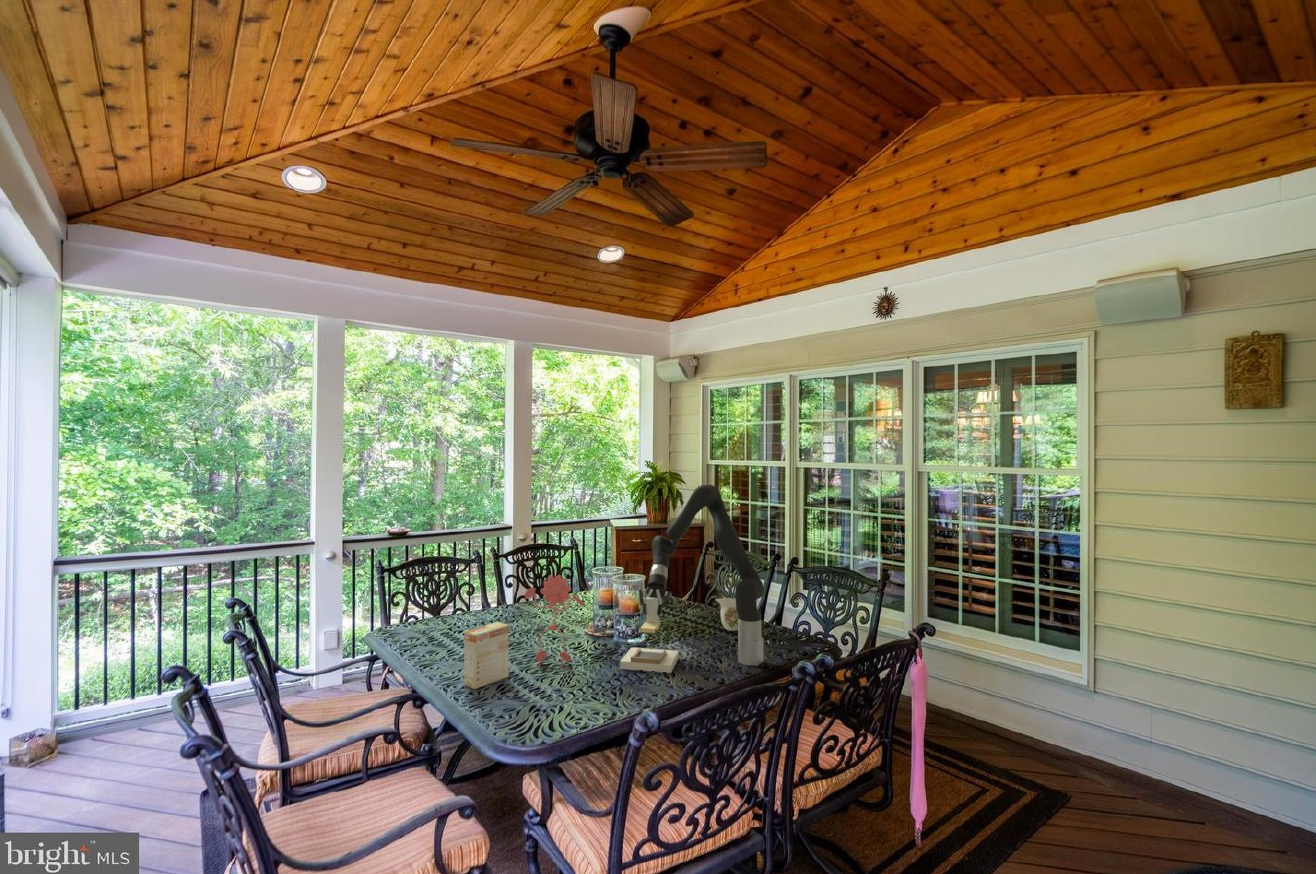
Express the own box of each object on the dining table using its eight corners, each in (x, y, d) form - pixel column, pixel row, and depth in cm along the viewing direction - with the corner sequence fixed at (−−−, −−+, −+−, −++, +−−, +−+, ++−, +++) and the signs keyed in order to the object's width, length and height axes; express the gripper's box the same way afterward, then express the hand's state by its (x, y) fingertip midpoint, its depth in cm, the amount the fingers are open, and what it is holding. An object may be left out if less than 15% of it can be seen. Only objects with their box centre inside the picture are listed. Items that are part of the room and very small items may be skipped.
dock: (678, 658, 238) (678, 646, 238) (670, 673, 222) (670, 660, 222) (631, 654, 243) (631, 642, 243) (620, 669, 227) (620, 656, 227)
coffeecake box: (498, 672, 224) (498, 621, 224) (509, 677, 219) (509, 624, 219) (463, 684, 212) (463, 630, 212) (474, 689, 207) (474, 634, 208)
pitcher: (754, 632, 270) (754, 603, 271) (715, 632, 272) (715, 602, 272) (752, 625, 281) (752, 597, 282) (715, 625, 283) (714, 596, 283)
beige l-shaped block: (645, 627, 238) (645, 596, 238) (660, 628, 237) (660, 597, 237) (639, 634, 229) (639, 602, 230) (655, 635, 228) (655, 603, 228)
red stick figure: (581, 671, 224) (581, 579, 226) (518, 667, 229) (518, 577, 230) (593, 658, 239) (593, 572, 241) (533, 654, 244) (534, 570, 245)
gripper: (640, 572, 246) (632, 608, 234) (673, 573, 243) (667, 610, 231) (643, 582, 251) (636, 618, 239) (676, 583, 248) (670, 620, 236)
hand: (651, 614), depth 235 cm, fingers closed on beige l-shaped block, 5 cm apart
